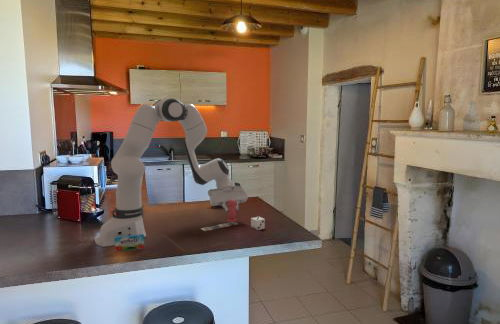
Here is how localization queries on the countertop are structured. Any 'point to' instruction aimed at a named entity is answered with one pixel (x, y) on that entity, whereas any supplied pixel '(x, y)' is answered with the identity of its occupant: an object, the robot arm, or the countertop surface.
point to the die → (258, 223)
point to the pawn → (232, 211)
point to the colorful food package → (129, 242)
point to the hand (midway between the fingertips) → (232, 210)
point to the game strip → (218, 226)
